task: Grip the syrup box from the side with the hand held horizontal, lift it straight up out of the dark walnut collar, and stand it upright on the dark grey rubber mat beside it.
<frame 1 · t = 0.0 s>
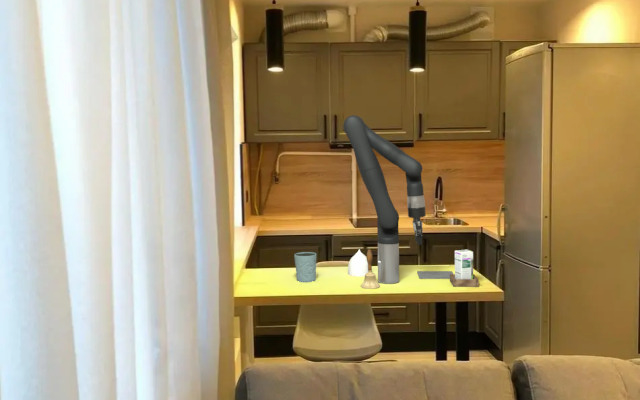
hand: (418, 242, 242), 17 cm above the table, tool pointing down, fingers open, 8 cm apart
walnut collar: (463, 283, 238), on the table
grey mat: (435, 275, 253), on the table
teal tapered cup: (305, 280, 250), on the table
hand bell: (370, 286, 236), on the table
teardrop: (359, 274, 261), on the table
syrup box: (463, 284, 238), resting in walnut collar
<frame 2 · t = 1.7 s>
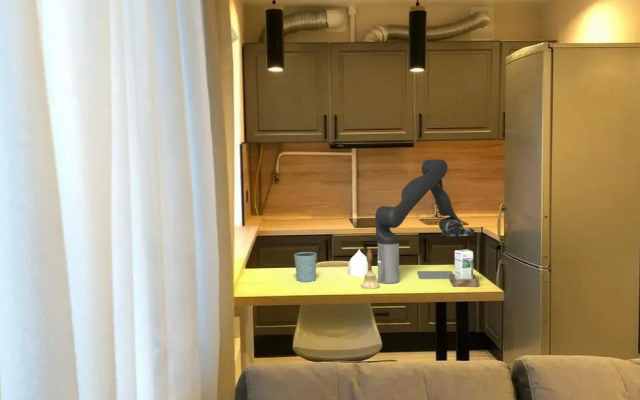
hand: (460, 234, 247), 20 cm above the table, tool horizontal, fingers open, 8 cm apart
nothing on the table moved.
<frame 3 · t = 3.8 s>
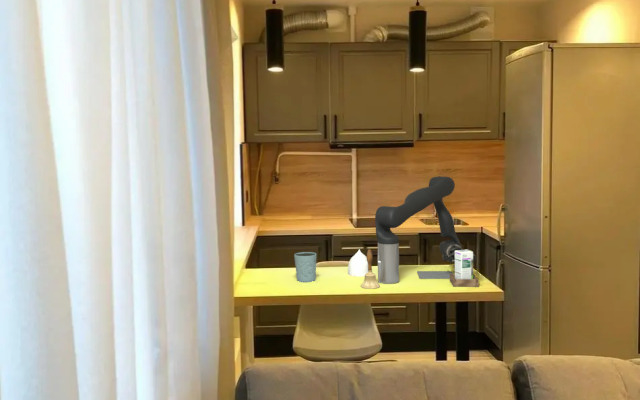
hand: (461, 260, 243), 9 cm above the table, tool horizontal, fingers open, 8 cm apart
nothing on the table moved.
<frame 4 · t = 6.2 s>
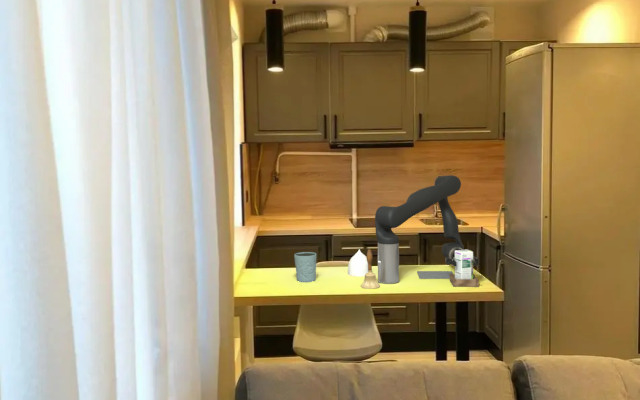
hand: (464, 264, 235), 9 cm above the table, tool horizontal, fingers closed on syrup box, 7 cm apart
syrup box: (463, 284, 238), resting in walnut collar, touching gripper
everything else where it was.
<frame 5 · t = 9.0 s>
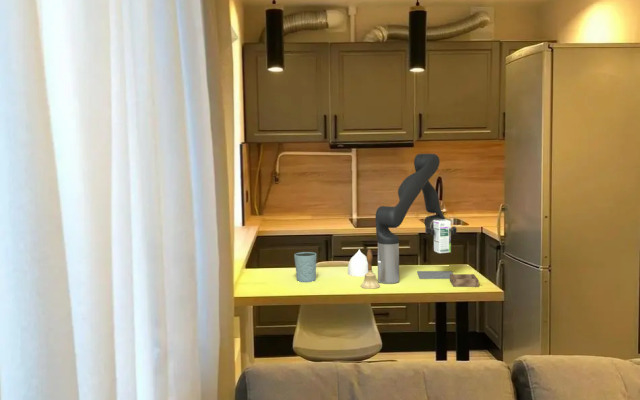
hand: (442, 232, 246), 21 cm above the table, tool horizontal, fingers closed on syrup box, 7 cm apart
syrup box: (442, 252, 249), point 11 cm above the table, touching gripper
everything else where it was.
when the fingers open (11 cm above the table, at t = 12.2 s): syrup box drops 1 cm, resting on grey mat.
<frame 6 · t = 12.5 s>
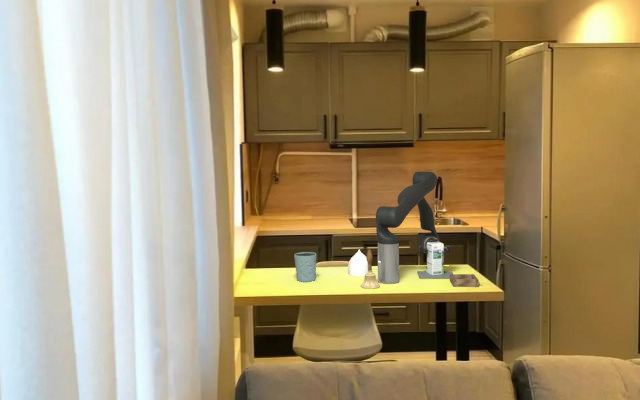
hand: (436, 251, 251), 11 cm above the table, tool horizontal, fingers open, 8 cm apart
syrup box: (435, 274, 254), point 1 cm above the table, touching grey mat
everything else where it was.
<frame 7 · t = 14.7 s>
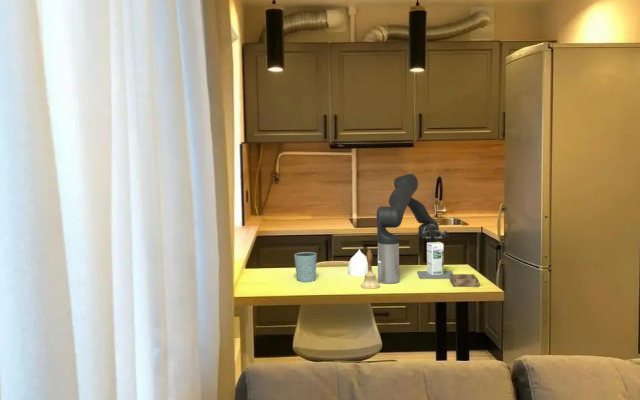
hand: (434, 236, 262), 16 cm above the table, tool horizontal, fingers open, 8 cm apart
nothing on the table moved.
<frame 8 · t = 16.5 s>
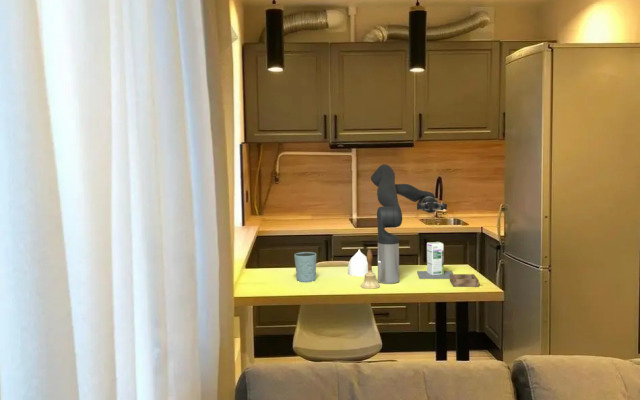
hand: (433, 208, 262), 30 cm above the table, tool horizontal, fingers open, 8 cm apart
nothing on the table moved.
at the end: syrup box inside the target area on the grey mat (0.4 cm from its centre), point 0.6 cm above the grey mat's base; syrup box tilted 0°; the gripper is holding nothing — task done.
